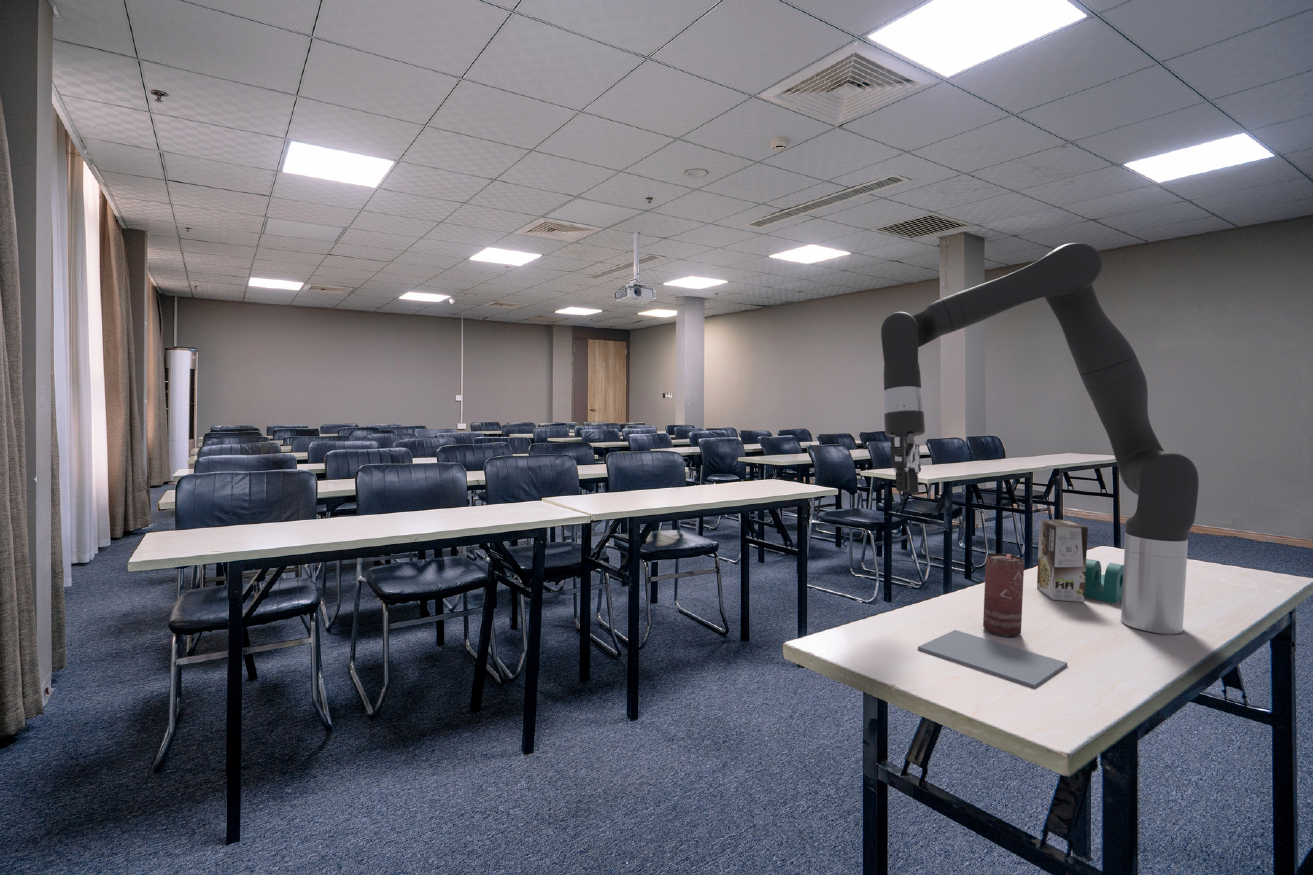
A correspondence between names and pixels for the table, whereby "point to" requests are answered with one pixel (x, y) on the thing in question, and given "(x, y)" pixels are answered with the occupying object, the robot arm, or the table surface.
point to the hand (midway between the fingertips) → (907, 492)
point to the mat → (994, 658)
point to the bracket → (1103, 581)
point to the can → (1003, 595)
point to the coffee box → (1062, 559)
